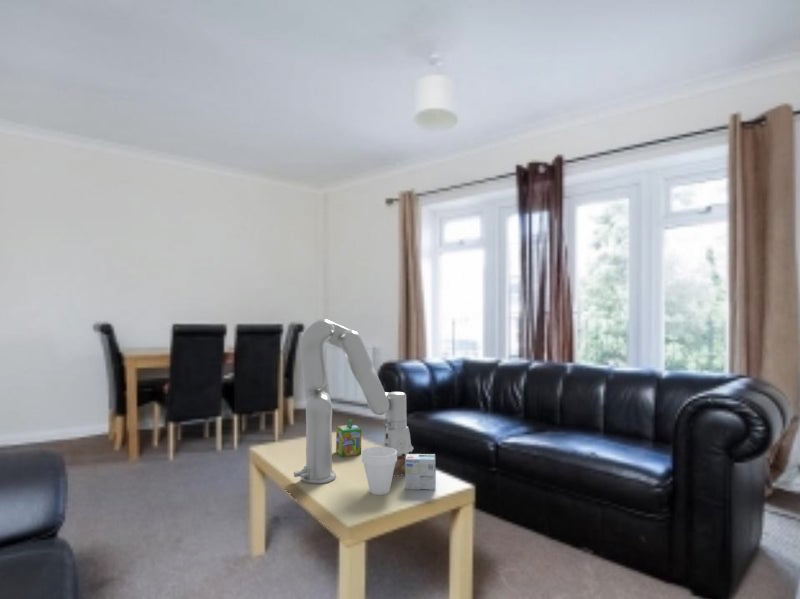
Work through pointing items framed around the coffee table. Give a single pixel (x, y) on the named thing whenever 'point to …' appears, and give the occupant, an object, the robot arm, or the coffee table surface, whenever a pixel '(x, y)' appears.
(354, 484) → the coffee table surface
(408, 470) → the light bulb box
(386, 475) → the cup
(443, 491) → the coffee table surface
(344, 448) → the chalk box
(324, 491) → the coffee table surface
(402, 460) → the walnut block
